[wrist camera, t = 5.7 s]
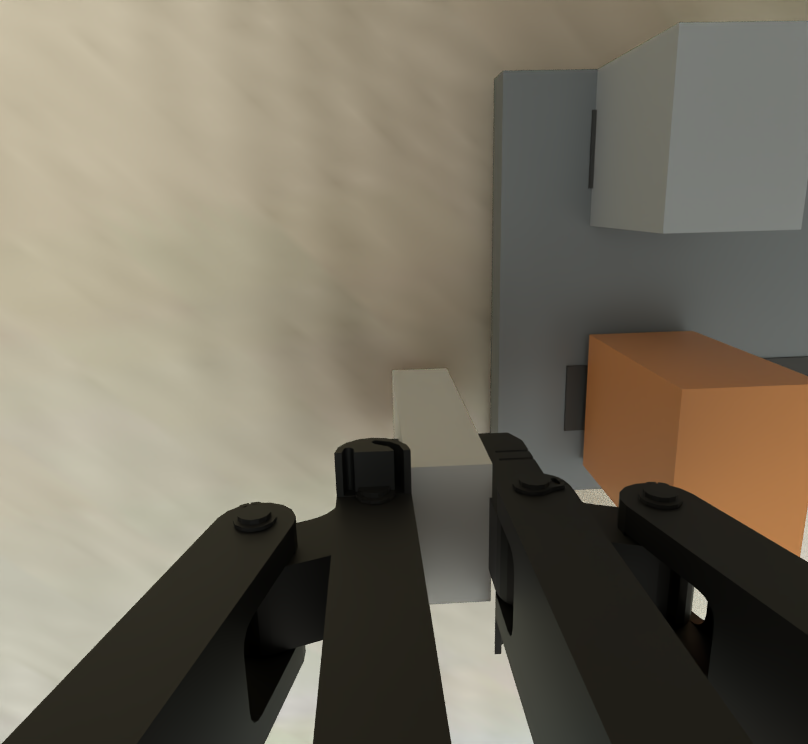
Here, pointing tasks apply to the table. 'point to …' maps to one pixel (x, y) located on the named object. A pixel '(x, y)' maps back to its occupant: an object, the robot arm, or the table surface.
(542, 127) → the panel
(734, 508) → the lever
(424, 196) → the table surface
